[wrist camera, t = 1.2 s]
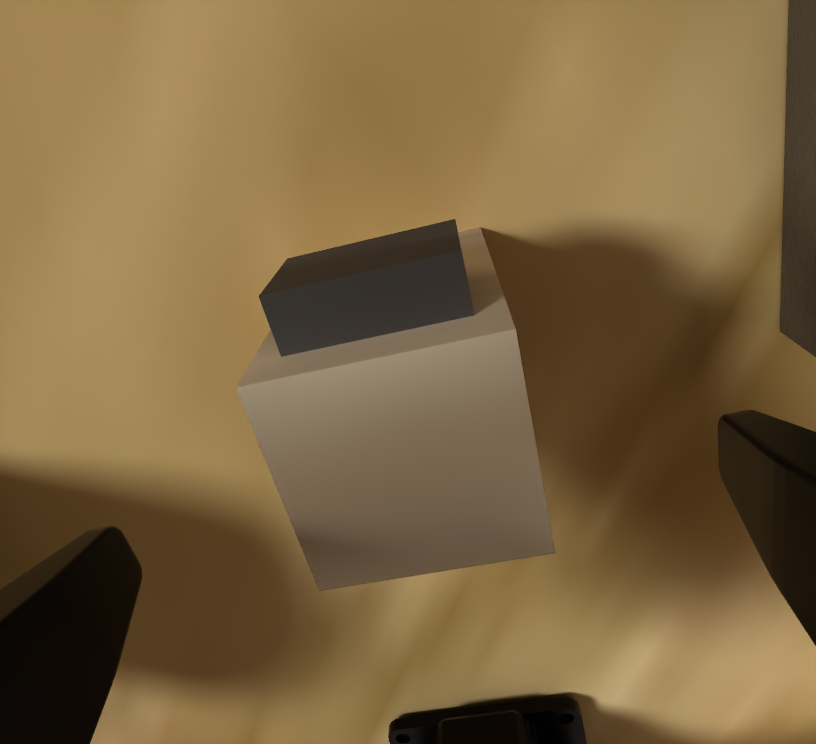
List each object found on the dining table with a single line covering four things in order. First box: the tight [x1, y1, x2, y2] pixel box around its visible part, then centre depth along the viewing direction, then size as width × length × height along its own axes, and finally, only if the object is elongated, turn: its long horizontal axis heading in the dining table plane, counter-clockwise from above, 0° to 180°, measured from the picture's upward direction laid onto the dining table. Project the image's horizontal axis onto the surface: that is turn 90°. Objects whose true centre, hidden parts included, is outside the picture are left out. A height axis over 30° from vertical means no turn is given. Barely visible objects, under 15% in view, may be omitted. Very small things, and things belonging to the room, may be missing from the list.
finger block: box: [236, 219, 555, 591], centre depth 12 cm, size 5×4×6 cm
